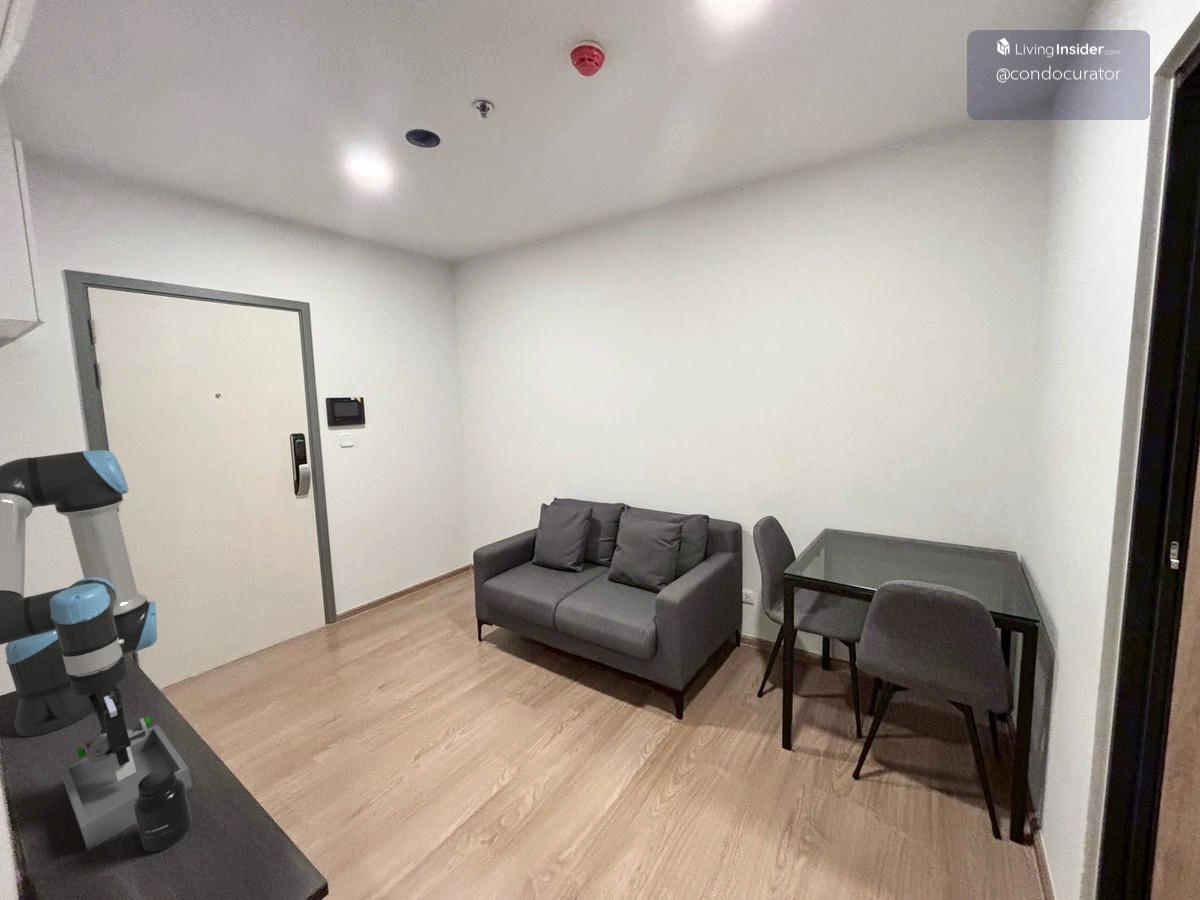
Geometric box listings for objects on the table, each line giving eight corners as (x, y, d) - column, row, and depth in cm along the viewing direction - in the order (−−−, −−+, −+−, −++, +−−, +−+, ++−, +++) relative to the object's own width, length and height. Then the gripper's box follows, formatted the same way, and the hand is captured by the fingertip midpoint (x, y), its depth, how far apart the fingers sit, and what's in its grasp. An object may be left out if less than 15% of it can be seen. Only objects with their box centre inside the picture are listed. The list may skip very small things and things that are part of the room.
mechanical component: (161, 761, 102) (150, 718, 100) (91, 798, 93) (79, 752, 92) (156, 755, 103) (146, 713, 101) (88, 791, 95) (75, 746, 93)
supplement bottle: (152, 861, 84) (136, 801, 82) (137, 842, 88) (122, 784, 86) (200, 828, 90) (186, 771, 88) (185, 811, 94) (171, 756, 91)
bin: (66, 791, 100) (60, 770, 99) (162, 743, 111) (157, 724, 110) (87, 851, 87) (80, 827, 86) (193, 789, 98) (188, 768, 97)
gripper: (133, 668, 92) (160, 776, 96) (114, 643, 102) (139, 742, 106) (76, 691, 86) (107, 805, 90) (61, 662, 96) (90, 766, 100)
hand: (124, 771), depth 98 cm, fingers closed on mechanical component, 3 cm apart
